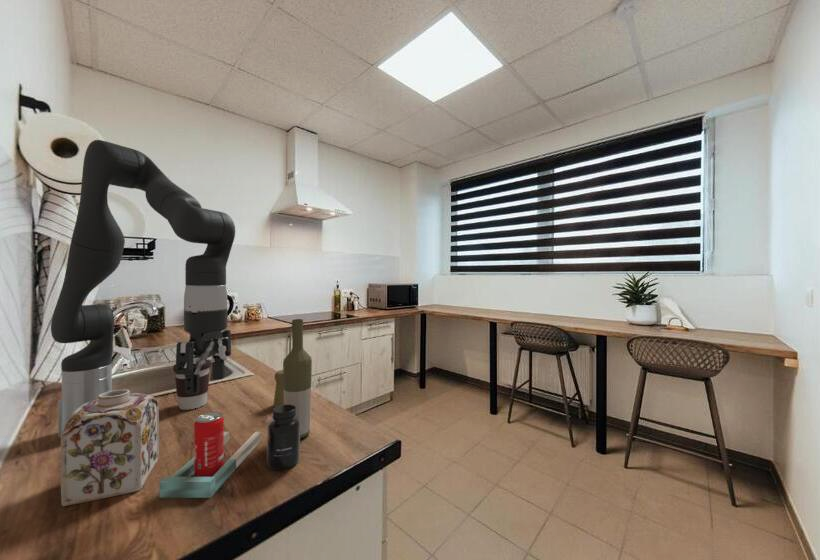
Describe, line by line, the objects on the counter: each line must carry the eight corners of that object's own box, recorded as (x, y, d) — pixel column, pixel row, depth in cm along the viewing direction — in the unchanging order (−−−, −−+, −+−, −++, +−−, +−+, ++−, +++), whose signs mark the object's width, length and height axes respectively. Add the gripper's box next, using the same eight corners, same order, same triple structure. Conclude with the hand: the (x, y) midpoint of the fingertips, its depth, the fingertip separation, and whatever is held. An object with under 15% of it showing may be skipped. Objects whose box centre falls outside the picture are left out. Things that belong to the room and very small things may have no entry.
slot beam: (159, 497, 60) (159, 481, 60) (223, 439, 81) (223, 427, 81) (210, 497, 60) (210, 481, 60) (261, 439, 81) (261, 427, 81)
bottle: (300, 425, 89) (300, 317, 88) (317, 433, 85) (317, 319, 84) (277, 436, 83) (277, 320, 82) (294, 444, 79) (294, 322, 78)
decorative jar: (58, 509, 57) (56, 408, 57) (91, 471, 68) (90, 386, 67) (142, 491, 62) (141, 398, 61) (161, 459, 72) (160, 379, 72)
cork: (268, 406, 101) (268, 372, 101) (283, 400, 107) (283, 366, 106) (283, 410, 99) (283, 374, 99) (297, 402, 104) (297, 369, 104)
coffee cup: (217, 403, 103) (217, 357, 103) (182, 415, 95) (182, 364, 94) (202, 397, 108) (201, 352, 108) (167, 407, 100) (167, 359, 100)
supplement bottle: (280, 475, 67) (280, 418, 67) (260, 464, 71) (260, 410, 70) (306, 459, 73) (306, 406, 73) (287, 450, 77) (287, 400, 76)
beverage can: (210, 483, 64) (210, 423, 64) (188, 479, 65) (187, 421, 65) (229, 467, 69) (229, 412, 69) (208, 464, 70) (208, 410, 70)
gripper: (209, 303, 73) (209, 374, 73) (161, 311, 59) (161, 399, 59) (242, 304, 73) (242, 375, 73) (202, 311, 59) (202, 399, 59)
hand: (206, 385), depth 66 cm, fingers open, 8 cm apart
